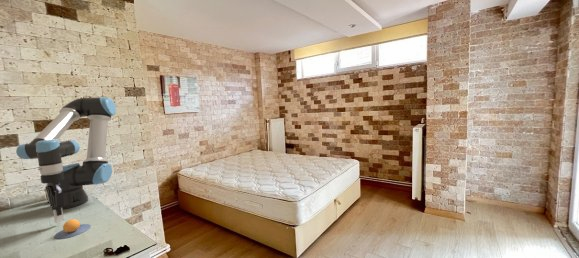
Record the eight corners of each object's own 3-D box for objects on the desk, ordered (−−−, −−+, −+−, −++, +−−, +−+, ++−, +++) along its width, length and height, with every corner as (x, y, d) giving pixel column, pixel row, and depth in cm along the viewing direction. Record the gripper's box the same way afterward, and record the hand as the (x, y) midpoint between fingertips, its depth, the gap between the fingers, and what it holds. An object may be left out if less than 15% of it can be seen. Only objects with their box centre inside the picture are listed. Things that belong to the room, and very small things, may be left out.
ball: (69, 231, 105) (66, 219, 104) (83, 227, 106) (81, 216, 106) (61, 236, 99) (58, 224, 99) (76, 232, 101) (73, 220, 101)
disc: (64, 227, 107) (64, 227, 107) (95, 222, 111) (95, 222, 111) (46, 241, 96) (46, 241, 96) (82, 235, 99) (82, 235, 99)
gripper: (35, 173, 107) (42, 222, 109) (46, 176, 101) (54, 228, 103) (57, 169, 114) (63, 215, 116) (68, 172, 108) (75, 220, 110)
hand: (59, 221), depth 110 cm, fingers closed
